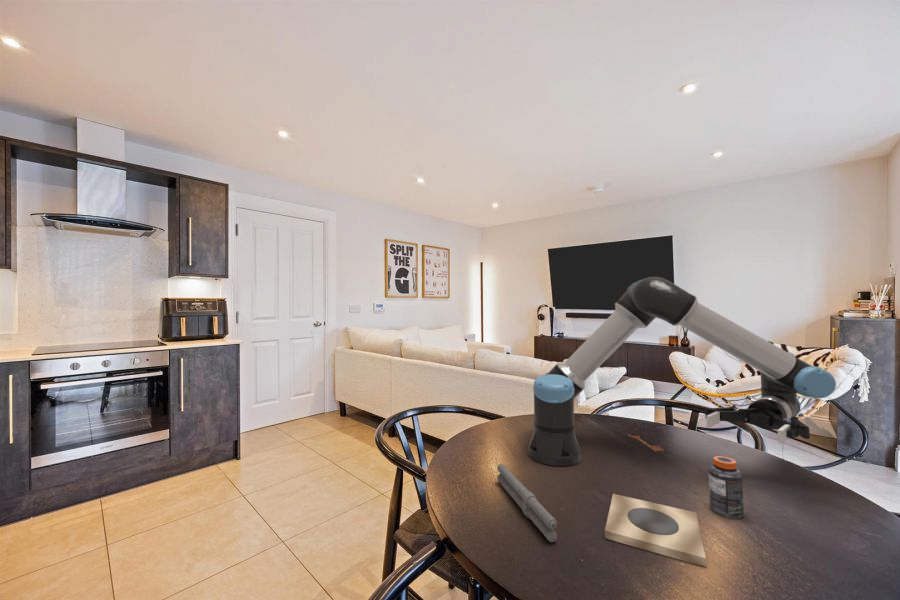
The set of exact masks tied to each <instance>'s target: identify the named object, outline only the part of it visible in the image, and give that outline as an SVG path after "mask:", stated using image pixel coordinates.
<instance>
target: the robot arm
mask: <svg viewBox="0 0 900 600" xmlns="http://www.w3.org/2000/svg"><path fill="white" fill-rule="evenodd" d="M614 307H615V310H614V311H613V312H612V313H611V314H610V315H609V317H607V318H606V319H605V321H603V322H602V324H601V325H600V326H599V327H598V328H597V329H596V330H595V331H594V332H593V333H592V334H591V335H590V336H589V337H588V338H587V339H586V340H585V341H584V342H583V343H582V344H581V345H580V346H579V347H578V348H577V349H576V351H574V352H573V353H572V355H571V356H569V357H568V358H567V360H565V362H557V363H556V364H555V365H554V366H553V367H552V368H551V369H550V371H549V372H546V373H545V374H543V375H539V376H537V377H536V378H535V380H534V382H533V388H532V389H533V390H532V391H533V419H534V420H533V421H534V422H533V423H534V425H533V427H534V429H533V432H532V435H531V438H530V440H529V444H528V455H530V456H529V457H530V458H531V459H532V460H534V461H536V462H538V463H540V464H544V465H549V466H555V467H569V466H574V465H576V464H579V463H580V462H581V460H582V456H581V453H582V452H581V449H580V445H579V442H578V439H577V435H576V433H575V401H574V400H575V398H577V397H578V396H579V395H580V394H581V392H582V391H584V390H585V389H586V388H585V385H586V384H585V383H586V381H587V380H588V378H590V377H591V376H592V374H594V372H596V371H597V370H598V369H599V368H600V366H601V365H603V364H604V362H605V361H606V360H608V359H609V358H610V357H611V355H612V354H614V353H615V351H616V350H618V349H619V348H620V346H622V345H623V344H624V343H625V342H626V341H627V340H628V339H629V338H630V336H631V335H632V334H634V333H635V332H636V331H637V329H642V328H643V329H645V328H647V327H648V326H649V325H650V324H651V323H652V322H653V321H654V320H655V319H656V318H657V319H659V320H662V321H664V322H666V323H668V324H671V326H673V327H675V326H681V327H683V328H684V329H686V330H687V331H690V332H691V333H693V334H695V335H696V336H698V337H700V338H702V339H703V340H704V341H707V342H708V343H710V344H712V345H714V346H715V347H717V348H719V349H721V350H722V351H724V352H726V353H727V354H730V355H731V356H732V357H734V358H736V359H738V360H740V361H742V362H743V363H745V364H746V365H748V366H750V367H752V368H754V369H755V370H757V371H759V372H760V391H761V392H760V394H761V396H760V397H761V398H758V399H757V400H755V401H753V402H751V403H750V404H749V405H748V407H747V408H739V409H737V407H736V406H735V405H731V406H727V407H725V406H724V407H713V408H712V407H711V408H704V415H705V417H704V418H705V421H706V428H712V427H715V426H716V425H718V424H720V423H721V422H740V423H742V424H752V425H755V426H756V427H757V428H760V429H763V430H768V431H772V430H777V443H779V444H784V443H785V442H786V441H788V440H789V439H796V438H798V437H799V436H800V437H801V438H802V439H805V440H810V439H811V438H810V437H811V435H810V433H811V432H810V427H809V426H808V425H806V424H805V423H803V422H802V421H800V420H799V417H797V416H798V415H799V413H800V412H801V407H802V405H801V402H800V400H799V399H798V397H797V396H798V395H797V394H799V395H801V396H803V397H805V398H811V399H823V398H827V397H829V396H830V395H832V394H833V393H834V392H835V390H836V387H837V383H836V379H835V377H834V375H833V374H832V373H831V372H829V371H828V370H826V369H823V368H821V367H820V366H815V365H811V364H809V363H808V362H806V361H804V360H802V359H800V358H799V357H796V356H795V354H794V353H792V352H789V351H786V350H784V349H782V348H781V347H779V346H777V345H776V344H773V343H771V342H770V341H768V340H766V339H765V338H762V337H761V336H759V335H757V334H755V333H754V332H751V331H750V330H748V329H746V328H744V327H743V326H741V325H739V324H737V323H735V321H734V322H733V320H730V319H728V318H726V317H725V316H723V315H721V314H719V313H717V312H716V311H714V310H712V309H710V308H709V307H708V306H707V307H706V306H705V305H703V304H702V303H700V302H699V301H698V298H697V296H696V295H693V294H691V293H690V292H688V291H687V290H685V289H683V288H681V287H680V286H678V285H676V284H675V283H673V282H671V281H670V280H668V279H665V278H663V277H659V276H650V277H649V276H648V277H646V278H643V279H640V280H637V281H635V282H633V283H631V285H629V286H628V287H627V289H626V291H625V292H624V294H623V295H622V296H621V297H620V298H619V299H618V300H617V301H616V302H615V303H614Z"/></svg>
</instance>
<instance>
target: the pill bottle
mask: <svg viewBox="0 0 900 600" xmlns="http://www.w3.org/2000/svg"><path fill="white" fill-rule="evenodd" d="M712 462H713V464H712V465H710V466H709V467H708V495H709V496H708V497H709V498H708V499H709V501H708V502H709V508H710V509H711V510H712V511H713V512H714V513H716V514H718V515H720V516H722V517H727V518H731V519H740V518H742V517H744V509H745V508H744V490H743V489H744V487H743V484H744V483H743V475H742V473H741V472H740V471H739V470H737V467H738V466H737V461H736V460H735V459H734V458H731V457H727V456H721V455H720V456H719V455H718V456H717V455H716V456H714V457H713V461H712Z"/></svg>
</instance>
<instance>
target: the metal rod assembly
mask: <svg viewBox="0 0 900 600" xmlns="http://www.w3.org/2000/svg"><path fill="white" fill-rule="evenodd" d="M496 470H497V471H498V472H499V474H498V475H497V477H496V478H497V481H498V483H499V484H500V485H501V486H502V487H503V488H504V489H505V491H506V492H507V493H508V495H510V496H509V497H511V498H512V499H513V501H515V503H516V504H517V505H518V507H519V508H520V509H521V510H522V511H521V512H522V514H523V515H525V517H526V518H527V519H528V520H530V521H532V523H533V524H534V525H535V527H537V529H538V530H539V531H540V532H541V533H542V534H543V536H544V537H545V538H546V540H548V542H549V543H554V542H555V541H556V540H557V539H558V534H557V532H556V531H555V528H557V526H558V521H557V520H556V518H555V517H553V515H551V513H550V512H548V510H547V509H545V507H544V506H543V505H542V504H541V503H540V502H539V501H538V499H537V497H536V495H535V494H534V493H533V492H531V491H530V490H529V489H528V488H527V487H525V486H524V484H523V483H522V482H521V481H520V480H518V478H517V477H516V476H515V475H514V473H512V471H510V469H508V468H507V467H506V466H505V465H504V464H503V463H499V464H498V465H497V467H496Z"/></svg>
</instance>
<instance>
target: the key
mask: <svg viewBox="0 0 900 600" xmlns="http://www.w3.org/2000/svg"><path fill="white" fill-rule="evenodd" d="M627 436H628V437H629V438H633V439H636V440H638V441H639V442H641V443H642V444H643V445H645V446H646V447H647V448H649V449H651V450H652V451H654V452H659V451H660V452H661V451H663V452H664V451H665V450H664V448H662V447H661V446H659V445H650V444H649V443H647V442H646V441H644V440H643V439H642V438H640V437H641V436H640V435H638V434H636V433H628V435H627Z"/></svg>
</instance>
